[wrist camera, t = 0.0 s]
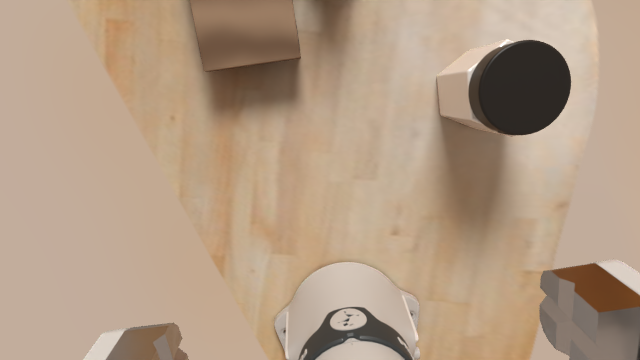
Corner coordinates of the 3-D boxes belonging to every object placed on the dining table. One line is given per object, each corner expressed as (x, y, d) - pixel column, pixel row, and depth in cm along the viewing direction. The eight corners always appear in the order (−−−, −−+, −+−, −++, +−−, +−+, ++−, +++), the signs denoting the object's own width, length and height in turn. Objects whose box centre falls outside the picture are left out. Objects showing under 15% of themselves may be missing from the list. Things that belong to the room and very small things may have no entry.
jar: (459, 141, 47) (508, 157, 36) (419, 87, 46) (456, 84, 34) (522, 93, 46) (594, 93, 34) (483, 36, 45) (544, 15, 33)
